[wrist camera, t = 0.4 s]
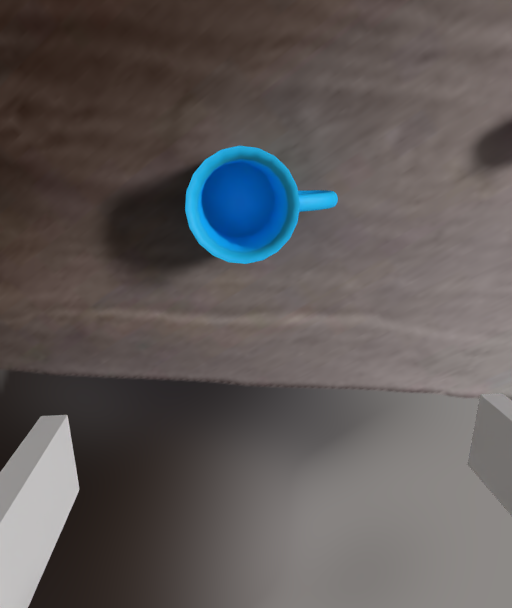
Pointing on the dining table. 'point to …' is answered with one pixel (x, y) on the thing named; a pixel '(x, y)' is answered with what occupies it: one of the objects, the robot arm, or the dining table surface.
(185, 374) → the dining table surface
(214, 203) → the mug
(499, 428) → the robot arm
